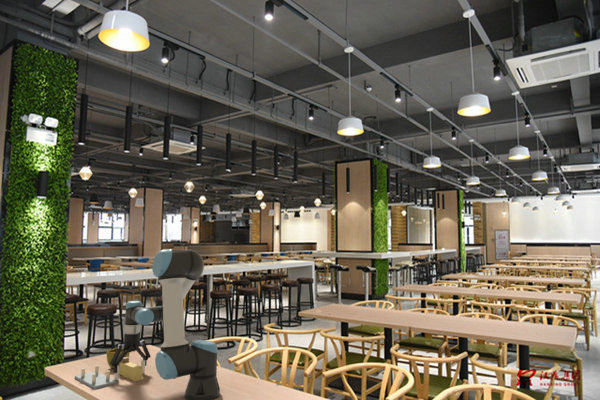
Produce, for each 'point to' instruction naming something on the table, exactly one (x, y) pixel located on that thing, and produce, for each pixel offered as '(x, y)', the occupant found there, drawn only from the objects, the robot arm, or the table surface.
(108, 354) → the flower pot
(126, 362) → the pale yellow block
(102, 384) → the peg board
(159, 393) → the table surface
